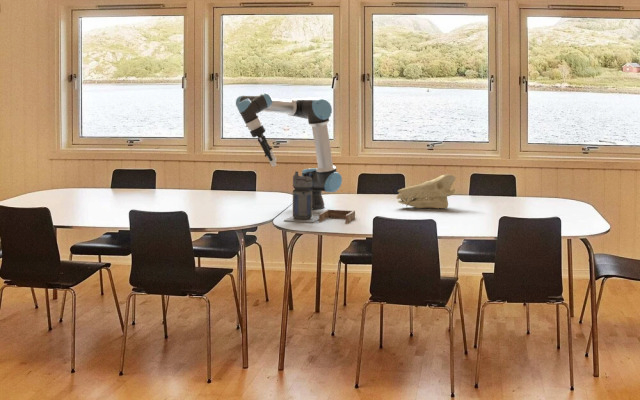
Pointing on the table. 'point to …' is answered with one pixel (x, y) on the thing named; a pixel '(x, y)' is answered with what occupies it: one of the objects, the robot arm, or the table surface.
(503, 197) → the table surface
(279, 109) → the robot arm
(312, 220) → the grey rubber mat
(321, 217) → the walnut dock
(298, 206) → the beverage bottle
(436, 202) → the animal skull
